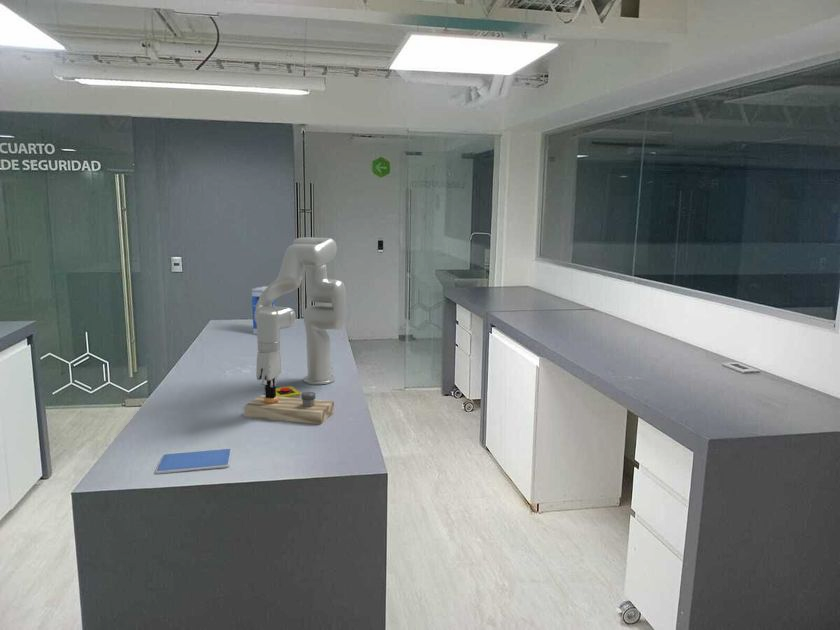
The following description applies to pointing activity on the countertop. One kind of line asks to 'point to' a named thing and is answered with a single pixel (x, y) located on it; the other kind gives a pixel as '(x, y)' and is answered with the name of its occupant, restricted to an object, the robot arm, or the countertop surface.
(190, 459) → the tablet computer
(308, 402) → the gray knob
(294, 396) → the emergency button
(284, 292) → the robot arm
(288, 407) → the control block
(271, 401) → the orange knob
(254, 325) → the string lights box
